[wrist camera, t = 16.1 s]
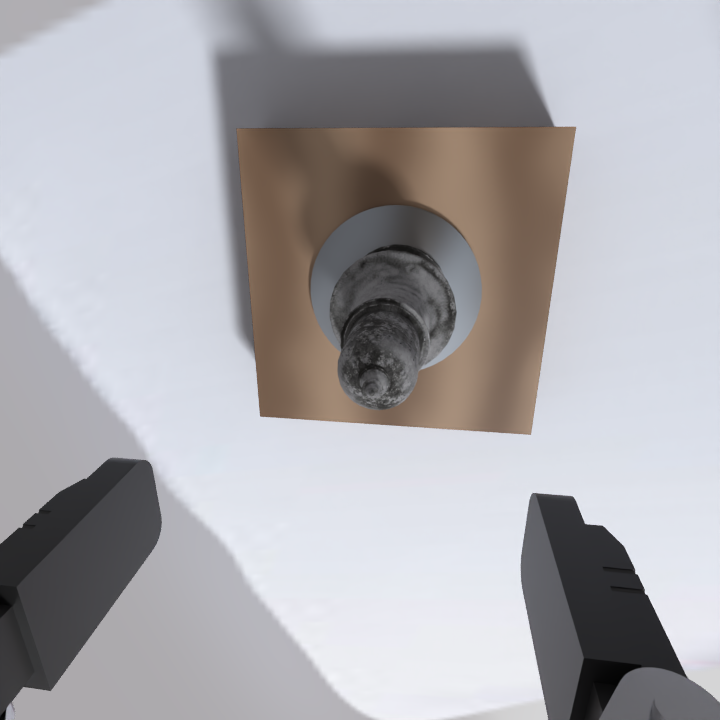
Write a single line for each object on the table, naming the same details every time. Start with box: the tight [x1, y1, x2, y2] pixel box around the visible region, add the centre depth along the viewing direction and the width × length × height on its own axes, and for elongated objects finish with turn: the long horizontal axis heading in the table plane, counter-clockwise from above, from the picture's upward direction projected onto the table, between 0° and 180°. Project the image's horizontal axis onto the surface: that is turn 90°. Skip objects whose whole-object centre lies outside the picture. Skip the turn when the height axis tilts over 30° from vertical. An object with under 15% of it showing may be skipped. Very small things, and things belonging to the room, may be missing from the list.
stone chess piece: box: [330, 244, 457, 410], centre depth 21 cm, size 6×6×12 cm
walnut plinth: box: [237, 127, 576, 435], centre depth 29 cm, size 16×16×4 cm
